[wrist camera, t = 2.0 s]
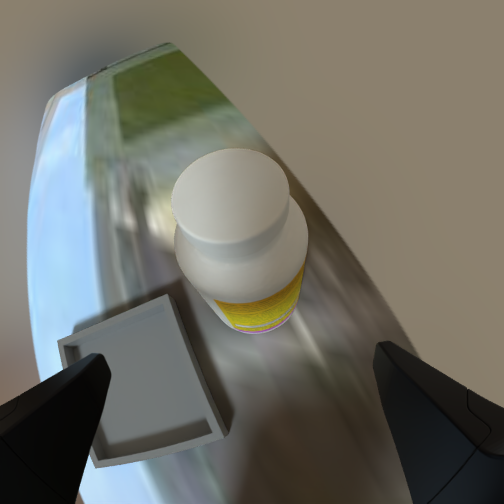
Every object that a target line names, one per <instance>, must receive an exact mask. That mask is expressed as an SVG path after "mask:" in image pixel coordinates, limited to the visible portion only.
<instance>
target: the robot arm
mask: <svg viewBox="0 0 504 504" xmlns="http://www.w3.org/2000/svg"><path fill="white" fill-rule="evenodd" d="M373 369H374V373H375V378H376V382H377V386H378V390H379V395H380V399H381V403H382V407H383V410H384V414H385V416H386V419H387V422H388V425H389V428H390V431H391V434H392V437H393V440H394V442H395V446H396V449H397V452H398V455H399V458H400V461H401V464H402V467H403V471H404V474H405V477H406V480H407V484H408V487H409V491H410V494H411V498H412V501H413V504H504V408H503V407H501V406H499V405H497V404H495V403H493V402H491V401H489V400H487V399H485V398H483V397H481V396H480V395H478V394H476V393H475V392H473V391H472V390H470V389H467V388H466V387H465V386H463V385H461V384H460V383H458V382H456V381H455V380H453V379H451V378H450V377H448V376H447V375H445V374H443V373H442V372H440V371H439V370H437V369H435V368H434V367H432V366H430V365H429V364H427V363H425V362H424V361H422V360H420V359H419V358H417V357H416V356H414V355H412V354H411V353H409V352H407V351H406V350H404V349H402V348H401V347H399V346H398V345H396V344H394V343H393V342H391V341H383V342H378V343H377V345H376V349H375V355H374V360H373ZM111 377H112V374H111V370H110V368H109V366H108V363H107V361H106V359H105V357H104V355H103V354H101V353H91V354H89V355H87V356H86V357H84V358H82V359H81V360H79V361H77V362H75V363H74V364H72V365H70V366H69V367H67V368H65V369H63V370H62V371H60V372H58V373H57V374H55V375H53V376H51V377H50V378H48V379H46V380H45V381H43V382H41V383H39V384H38V385H36V386H34V387H33V388H31V389H29V390H28V391H26V392H24V393H22V394H21V395H20V396H17V397H15V398H14V399H12V400H10V401H8V402H7V403H5V404H3V405H1V406H0V504H75V502H76V498H77V494H78V491H79V487H80V483H81V480H82V476H83V473H84V469H85V466H86V463H87V459H88V456H89V453H90V450H91V446H92V443H93V440H94V437H95V434H96V431H97V428H98V425H99V422H100V419H101V416H102V413H103V410H104V406H105V402H106V397H107V393H108V389H109V385H110V381H111Z"/></svg>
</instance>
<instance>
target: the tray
mask: <svg viewBox="0 0 504 504" xmlns="http://www.w3.org/2000/svg"><path fill="white" fill-rule="evenodd" d="M57 342H58V348H59V353H60V357H61V362H62V367H63V369H65V368H67V367H69V366H70V365H72V364H74V363H75V362H77V361H79V360H81V359H82V358H84V357H86V356H87V355H89V354H91V353H101V354H103V355H104V357H105V359H106V361H107V363H108V366H109V368H110V370H111V374H112V377H111V381H110V385H109V389H108V393H107V397H106V402H105V406H104V410H103V413H102V416H101V419H100V422H99V425H98V428H97V431H96V434H95V437H94V440H93V443H92V446H91V450H90V453H89V454H90V457H91V459H92V462H93V464H94V466H95V468H102V467H109V466H115V465H121V464H127V463H132V462H137V461H142V460H147V459H151V458H156V457H160V456H164V455H168V454H172V453H176V452H180V451H184V450H187V449H191V448H194V447H198V446H201V445H204V444H207V443H211V442H214V441H217V440H220V439H223V438H225V437H226V436H227V435H228V434H229V433H228V431H227V429H226V427H225V424H224V422H223V420H222V418H221V416H220V413H219V411H218V409H217V407H216V404H215V402H214V400H213V398H212V395H211V393H210V391H209V388H208V386H207V383H206V381H205V379H204V376H203V374H202V371H201V369H200V366H199V364H198V361H197V359H196V356H195V354H194V351H193V349H192V346H191V343H190V341H189V338H188V335H187V333H186V330H185V327H184V324H183V322H182V319H181V316H180V313H179V310H178V308H177V305H176V302H175V300H174V299H173V298H172V297H171V296H169V295H168V294H165V295H163V296H161V297H158V298H156V299H154V300H151V301H149V302H147V303H144V304H142V305H140V306H137V307H135V308H133V309H130V310H128V311H126V312H123V313H121V314H119V315H116V316H114V317H112V318H109V319H107V320H105V321H102V322H100V323H98V324H95V325H93V326H91V327H88V328H86V329H84V330H81V331H79V332H77V333H74V334H72V335H69V336H67V337H65V338H62V339H60V340H58V341H57Z"/></svg>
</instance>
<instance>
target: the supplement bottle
mask: <svg viewBox="0 0 504 504" xmlns="http://www.w3.org/2000/svg"><path fill="white" fill-rule="evenodd" d="M171 207H172V212H173V215H174V217H175V220H176V222H177V226H176V230H175V236H174V248H175V254H176V258H177V261H178V264H179V266H180V268H181V270H182V272H183V273H184V275H185V276H186V277H187V279H188V280H189V281H190V283H191V284H192V285H193V286H194V287H195V289H196V290H197V291H198V292H199V293H200V295H201V296H202V297H203V298H204V300H205V301H206V302H207V303H208V304H209V306H210V307H211V308H212V309H213V310H214V312H215V313H216V314H217V315H218V316H219V317H220V319H221V320H222V321H223V322H224V323H225V324H227V325H228V326H229V327H231V328H233V329H235V330H237V331H240V332H243V333H249V334H260V333H265V332H268V331H271V330H273V329H275V328H277V327H279V326H280V325H282V324H283V323H284V322H285V321H286V320H287V319H288V318H289V317H290V316H291V314H292V313H293V311H294V309H295V307H296V305H297V302H298V298H299V293H300V288H301V282H302V276H303V270H304V265H305V259H306V254H307V246H308V228H307V224H306V220H305V217H304V214H303V212H302V210H301V209H300V207H299V205H298V204H297V203H296V201H295V200H294V199H293V198H292V197H291V196H290V195H289V184H288V180H287V177H286V175H285V173H284V171H283V170H282V168H281V167H280V166H279V165H278V164H277V163H276V162H275V161H274V160H273V159H271V158H270V157H268V156H267V155H265V154H263V153H260V152H258V151H255V150H249V149H242V148H229V149H223V150H218V151H215V152H212V153H209V154H207V155H205V156H202V157H201V158H199V159H197V160H196V161H194V162H193V163H192V164H190V165H189V166H188V167H187V168H186V169H185V170H184V171H183V172H182V174H181V175H180V176H179V178H178V180H177V181H176V184H175V186H174V189H173V192H172V198H171Z"/></svg>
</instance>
